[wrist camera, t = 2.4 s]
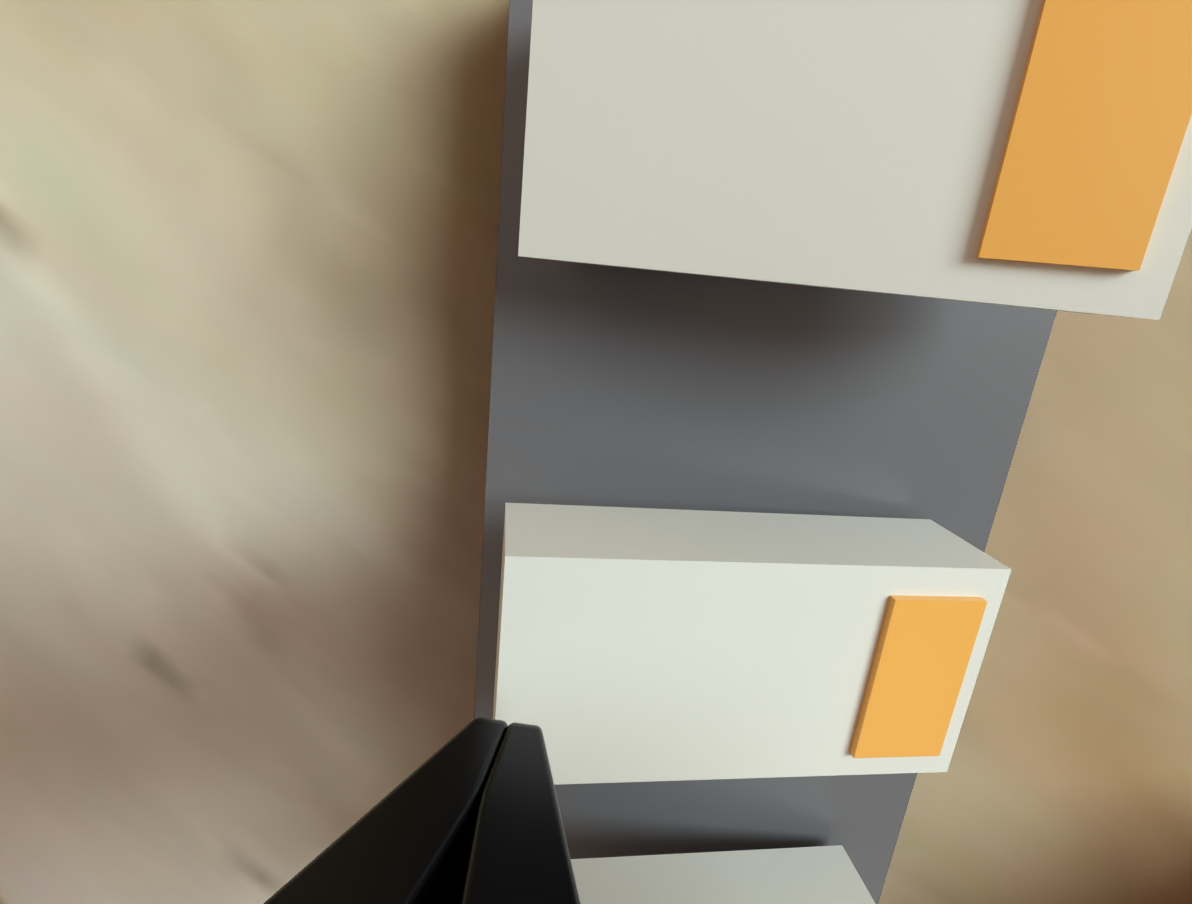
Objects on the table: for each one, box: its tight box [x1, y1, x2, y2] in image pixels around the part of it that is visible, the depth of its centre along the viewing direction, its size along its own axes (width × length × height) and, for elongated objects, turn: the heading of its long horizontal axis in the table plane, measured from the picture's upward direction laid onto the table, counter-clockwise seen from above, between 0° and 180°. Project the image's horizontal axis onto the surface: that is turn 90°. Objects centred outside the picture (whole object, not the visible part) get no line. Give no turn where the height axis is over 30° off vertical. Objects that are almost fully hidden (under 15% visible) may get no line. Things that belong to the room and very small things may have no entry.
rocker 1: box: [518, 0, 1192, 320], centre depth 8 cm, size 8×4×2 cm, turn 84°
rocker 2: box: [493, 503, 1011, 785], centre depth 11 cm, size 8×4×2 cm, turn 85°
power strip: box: [474, 0, 1057, 904], centre depth 14 cm, size 10×30×4 cm, turn 174°
